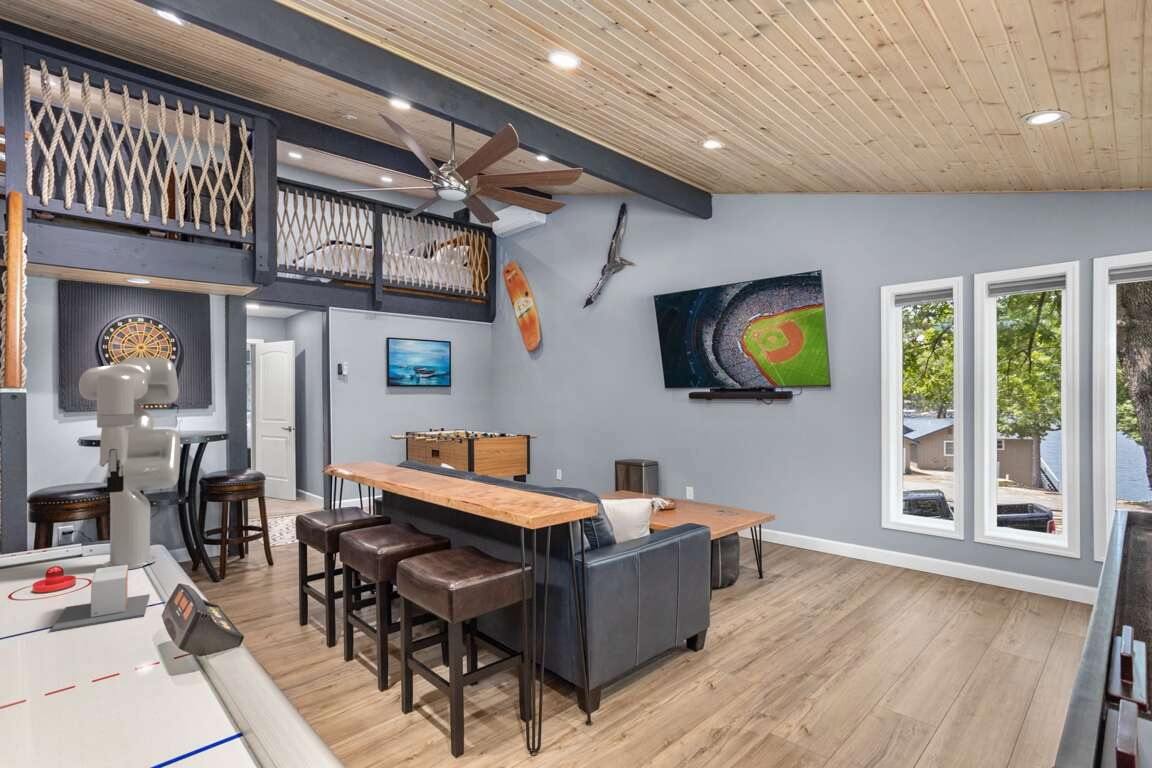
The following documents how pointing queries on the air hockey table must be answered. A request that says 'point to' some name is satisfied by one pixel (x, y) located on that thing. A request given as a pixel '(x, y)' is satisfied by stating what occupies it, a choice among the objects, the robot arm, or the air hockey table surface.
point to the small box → (109, 590)
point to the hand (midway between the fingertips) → (115, 491)
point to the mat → (82, 615)
